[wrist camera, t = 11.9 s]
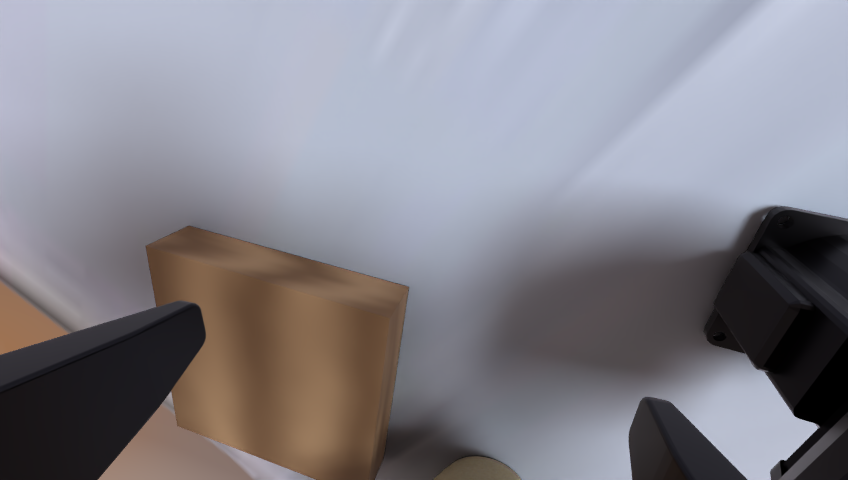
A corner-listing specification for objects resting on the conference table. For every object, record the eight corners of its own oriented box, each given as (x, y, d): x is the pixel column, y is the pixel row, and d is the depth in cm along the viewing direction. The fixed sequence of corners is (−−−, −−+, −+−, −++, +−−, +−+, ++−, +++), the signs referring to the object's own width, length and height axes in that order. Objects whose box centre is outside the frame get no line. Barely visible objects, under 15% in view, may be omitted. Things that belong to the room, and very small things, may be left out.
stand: (408, 287, 22) (389, 318, 19) (383, 457, 28) (366, 498, 26) (188, 225, 25) (145, 245, 22) (209, 394, 31) (177, 425, 28)
